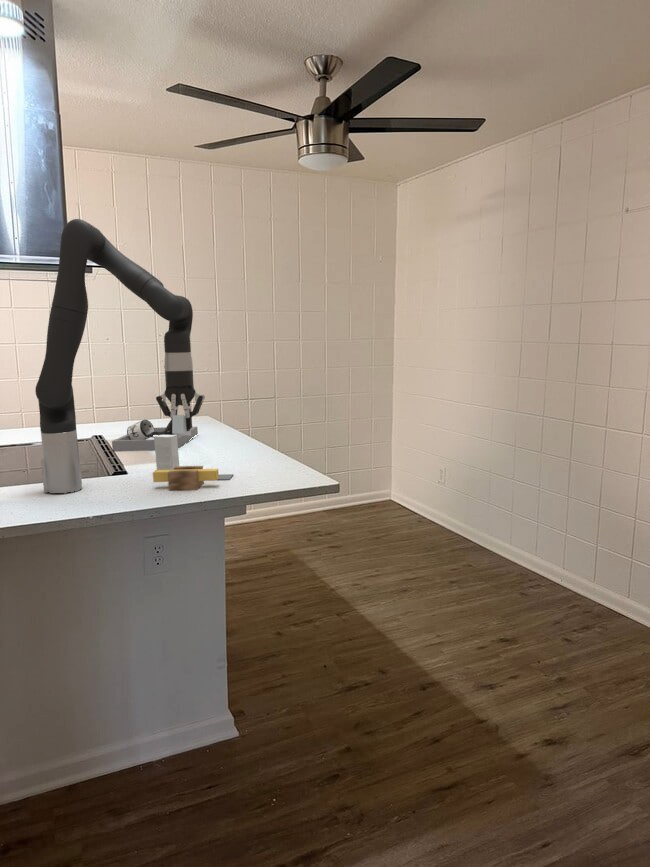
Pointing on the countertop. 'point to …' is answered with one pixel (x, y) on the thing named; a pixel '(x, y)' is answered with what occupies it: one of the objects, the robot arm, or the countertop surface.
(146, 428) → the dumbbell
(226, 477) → the mat
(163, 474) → the yellow bar
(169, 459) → the skincare box
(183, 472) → the cradle
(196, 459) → the countertop surface
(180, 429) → the gray rectangular block
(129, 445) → the bucket corral
